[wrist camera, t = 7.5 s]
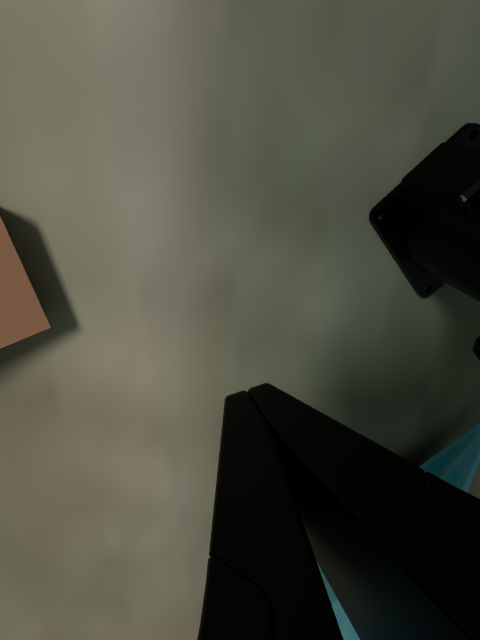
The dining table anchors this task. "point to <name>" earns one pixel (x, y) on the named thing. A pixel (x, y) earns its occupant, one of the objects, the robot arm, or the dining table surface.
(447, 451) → the crystal
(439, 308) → the dining table surface
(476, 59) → the dining table surface
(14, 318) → the domino
